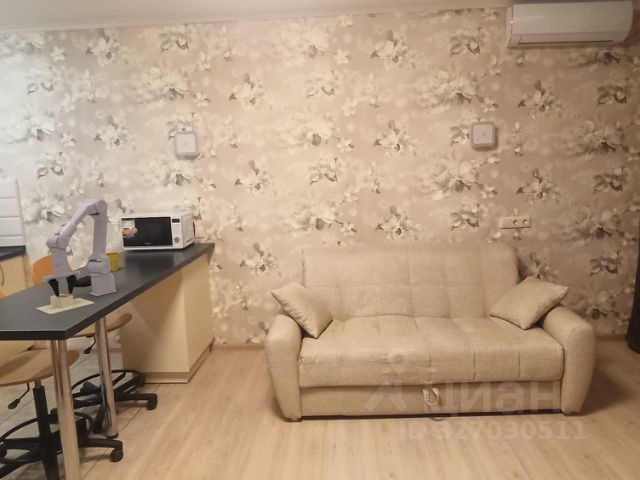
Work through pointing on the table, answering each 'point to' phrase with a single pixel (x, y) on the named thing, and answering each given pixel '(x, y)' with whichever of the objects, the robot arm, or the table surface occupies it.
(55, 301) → the card deck box
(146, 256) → the table surface
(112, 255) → the plant pot
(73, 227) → the robot arm
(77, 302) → the mat
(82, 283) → the carrying case or bag
